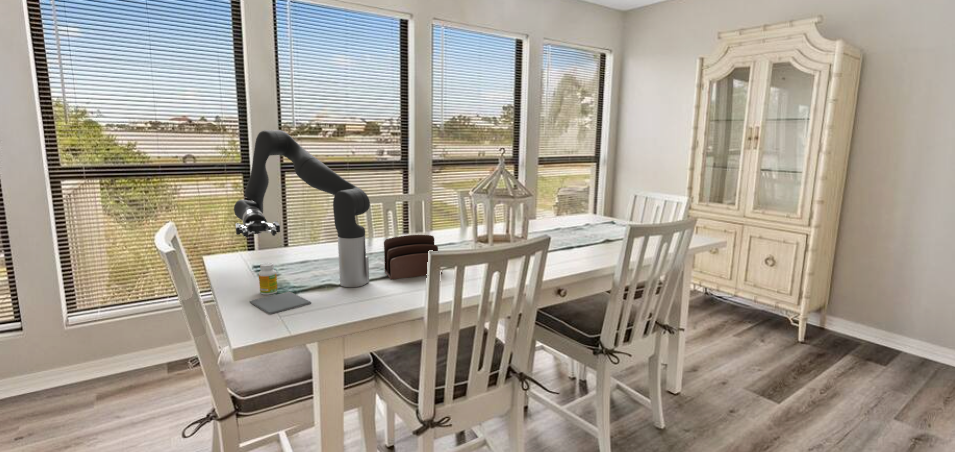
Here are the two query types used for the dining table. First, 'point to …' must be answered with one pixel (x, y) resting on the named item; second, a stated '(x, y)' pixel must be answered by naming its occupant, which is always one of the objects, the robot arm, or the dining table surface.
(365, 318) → the dining table surface
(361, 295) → the dining table surface
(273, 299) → the mat
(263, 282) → the supplement bottle
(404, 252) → the letter holder
